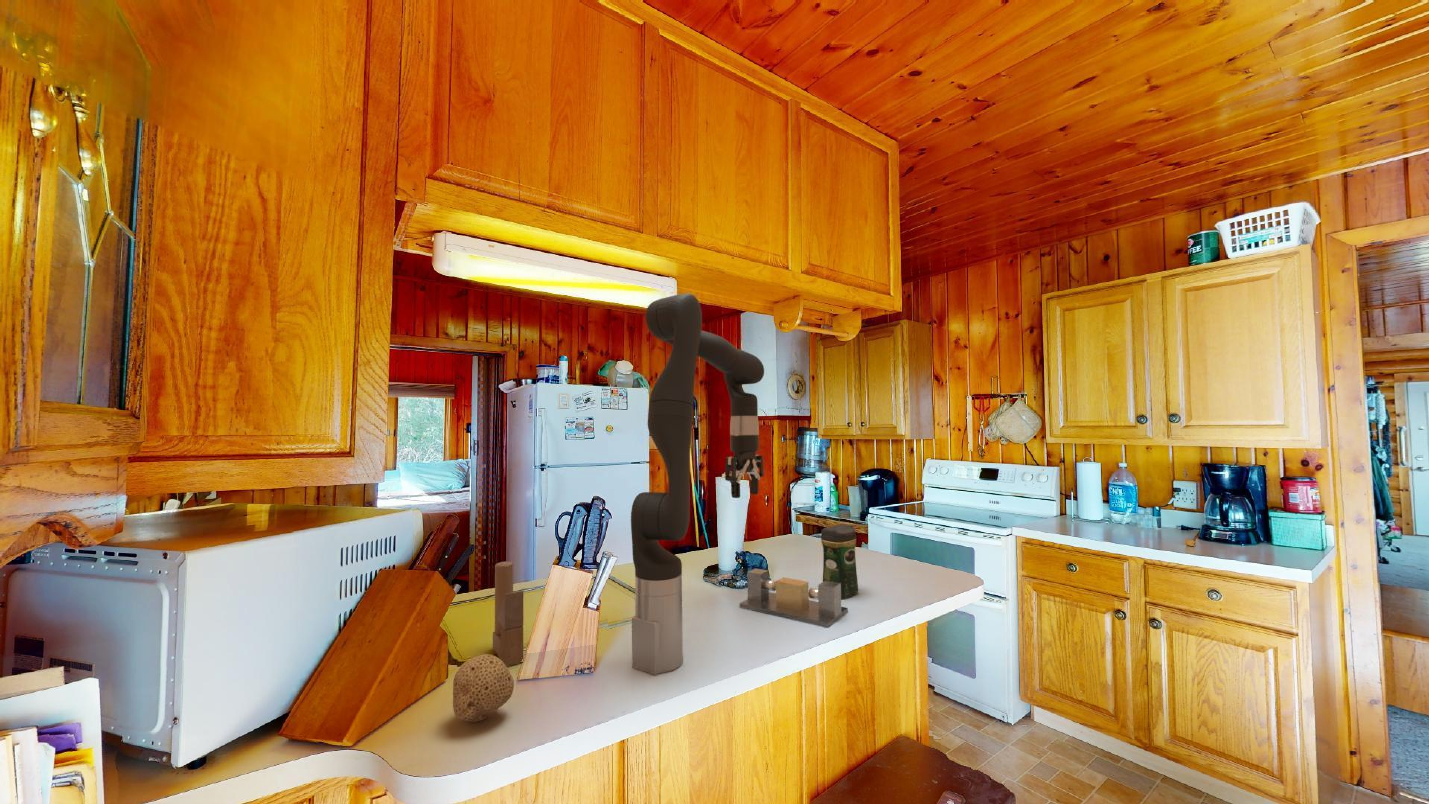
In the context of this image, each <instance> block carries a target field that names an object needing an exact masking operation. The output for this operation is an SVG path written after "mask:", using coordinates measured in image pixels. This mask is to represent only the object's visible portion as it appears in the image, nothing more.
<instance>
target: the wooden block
mask: <svg viewBox="0 0 1429 804" xmlns="http://www.w3.org/2000/svg"><path fill="white" fill-rule="evenodd" d="M492 649H493V650H494V653H495V654H496V655H497V658H499V659H500V660H502V661H503V662H504V664H505V665H506V667H507V668H508V667H511V666H514V665H519V664H522V663H521V661H522V659H523V660H524V590H519V591H514V563H513V562H512V561H501V562H498V563H496V564H495V565H494V631H493V632H492Z"/></svg>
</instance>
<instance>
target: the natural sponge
mask: <svg viewBox="0 0 1429 804" xmlns="http://www.w3.org/2000/svg"><path fill="white" fill-rule="evenodd" d="M452 685H453V686H452V696H453V697H452V707H453V712H454V716H456V718H457V719H459V720H461V721H469V722H471V723H472V722H473V723H476V722H482V721H483V720H486V719H487V718H488V717H489V716H490V715H491V714H492V713H493V712H495V711H497V710H499V709H500V708H501V707H503V706H505V704H506V703H507V702H508V701H509V700H510V699H511V697H512V695H513V692H514V686H515V680H514V677H513V675H512V674H511V672H510V670H509V669H508V667H506V665H505V664H504V662H503V661H502V660H500V658H499V657H498V656H495V655H492V654H488V653H484V654H479V655H476V656H473V657H471V658H469V659H468V660H466V661H465V662H463V663H462V664H461V665H460V666H459V668H458V669H457V671H456V672H455V674H454V676H453V684H452Z"/></svg>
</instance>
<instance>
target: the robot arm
mask: <svg viewBox="0 0 1429 804" xmlns="http://www.w3.org/2000/svg"><path fill="white" fill-rule="evenodd" d="M645 322H646V326H647V328H648V330H649V332H650V333H651V334H652V335H653V336H654V337H655V338H657V339H658V340H660V341H661V342H662V341H663V342H664V343H667V344H669V345H672V347H671V352H670V356H669V358H668V361H667V363H666V364H665V366H664V368H663V370H662V371H661V373H660V375H659V376H658V378H657V380H656V381H655V383H654V384H653V388H652V390H651V392H650V395H649V401H648V411H647V412H648V414H647V429H648V432H649V435H650V438H651V439H652V441H653V443H654V445H655V447H656V449H657V450H658V452H659V454H660V456H661V458H662V460H663V462H664V465H665V468H666V472H667V481H668V483H667V484H668V489H667V490H668V491H667V492H663V491H662V492H657V491H656V492H654V491H650V492H649V491H648V492H647V491H645V492H644V491H643V492H640V493H638V494H637V495H636V496H635V498H634V500H633V502H632V505H631V510H630V511H631V512H630V530H631V531H630V532H631V546H632V549H631V550H632V561H633V566H634V575H635V577H634V578H635V579H634V580H635V583H634V584H635V587H634V591H635V594H634V596H635V599H634V600H635V601H634V603H635V604H634V605H635V614H634V616H632V617H631V667H632V668H634V669H637V670H639V671H643V672H646V673H647V674H648V673H649V674H651V675H654V676H657V675H658V674H661V673H667V672H671V671H674V670H676V669H677V668H679V667H681V665H682V664H683V661H684V651H683V649H684V646H683V645H684V643H683V642H684V640H683V569H682V568H683V563H682V559H681V558H680V557H679V556H678V555H676V554H673V553H672V552H670V551H669V550H666V549H665V548H664V547H663V546H662V545H661V544H660V543H659V541H674V542H677V541H681V540H683V539H684V538H685V537H686V534H687V533H688V528H689V525H690V518H691V517H690V514H691V513H690V512H691V510H690V507H691V503H690V502H691V500H690V499H691V498H690V496H691V495H690V493H691V491H690V459H691V458H690V456H691V441H692V431H693V429H692V428H693V419H694V416H693V415H694V398H695V397H694V395H695V394H694V393H695V392H694V391H695V379H696V377H695V376H696V368H697V358H701V359H702V360H703V361H705V362H707V363H708V364H709V365H711V366H712V367H714V368H716V369H717V370H718V371H720V372H722V373H723V377H724V381H725V383H726V387H727V392H728V396H729V401H730V424H729V434H730V435H729V438H730V440H729V441H730V447H729V448H730V451H731V452H732V453H733V456H726V457H725V472H724V473H725V475H724V480H725V481H727V482H729V483H730V484H731V485H730V488H731V490H730V494H731V497H732V498H733V499H740V498H741V483H740V481H741V479H742V477H743V476H745V474H747V475H748V477H749V479H750V480H749V489H750V490H749V493H750V494H751V495H758V494H759V489H760V488H759V485H760V484H759V483H760V482H759V481H760V480H761V478H763V477H764V473H765V472H764V455H762V454H756V453H758V452H759V451H760V429H759V427H760V423H759V418H758V417H759V416H758V412H759V411H758V396H756V395H755V394H753V393H750V392H745V390H744V388H743V385H753V384H754V385H755V384H757V383H760V382H761V380H763V378H764V376H765V366H764V364H763V362H762V360H761V359H760V358H759V357H757V356H756V355H754V354H751V353H749V352H747V351H745V350H742V349H738V348H737V347H736V346H734V345H733V344H732V343H731V342H729V341H728V339H727V340H726V339H725V338H724V337H722V336H719V335H717V334H715V333H712V332H708V331H705V330H702V328H703V327H702V325H703V324H702V323H703V313H702V307H701V303H700V302H699V300H698V298H697V297H696V296H695V295H694V294H692V293H688V292H687V293H680V294H674V295H671V296H668V297H667V296H666V297H662V298H659V299H656V300H654V301H652V302H651V303H649V305H648V306H647V308H646V311H645ZM730 473H731V475H730Z"/></svg>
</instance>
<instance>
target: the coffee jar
mask: <svg viewBox="0 0 1429 804" xmlns="http://www.w3.org/2000/svg"><path fill="white" fill-rule="evenodd" d="M856 533H857V532H856V529H855V528H854V526H853V525H848V524H843V523H842V524H841V523H840V524H836V525H832V526H827V527H824V528H823V529H821V535H820V536H821V537H820V542H821V545H822V549H823V550H822V551H823V552H822V553H823V557H822V559H823V561H822V563H823V565H822V566H823V567H822V568H823V569H822V582H824V581H831V582H836V583H841V599H846V598H850V597H852V596H854V595H856V594H857V593H858V592H859V582H858V581H859V580H858V573H857V562H856V546H857V545H856V543H857V534H856Z"/></svg>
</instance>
